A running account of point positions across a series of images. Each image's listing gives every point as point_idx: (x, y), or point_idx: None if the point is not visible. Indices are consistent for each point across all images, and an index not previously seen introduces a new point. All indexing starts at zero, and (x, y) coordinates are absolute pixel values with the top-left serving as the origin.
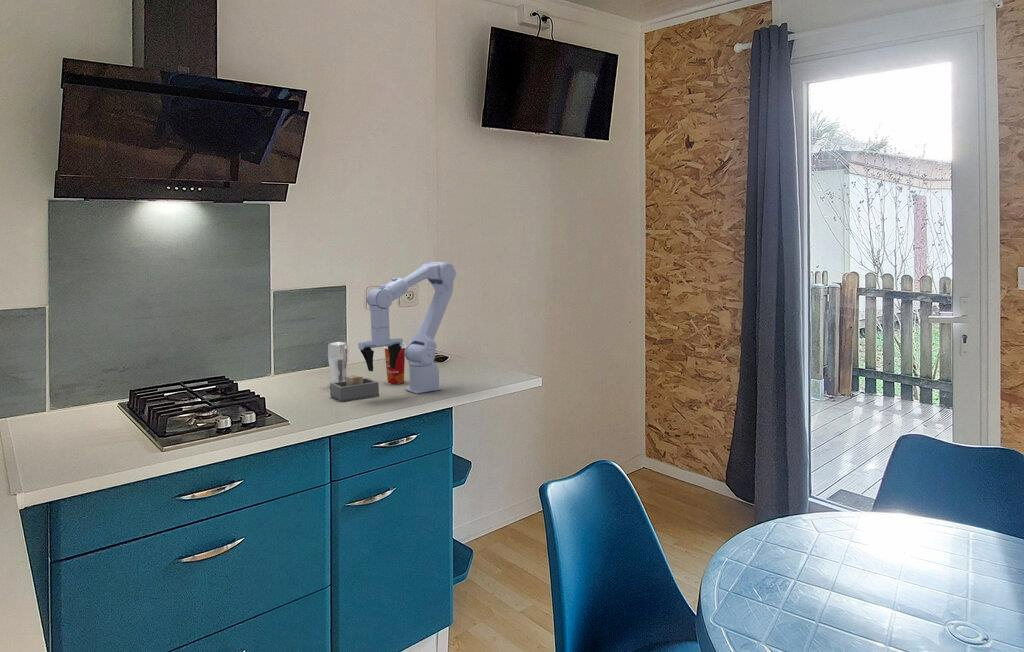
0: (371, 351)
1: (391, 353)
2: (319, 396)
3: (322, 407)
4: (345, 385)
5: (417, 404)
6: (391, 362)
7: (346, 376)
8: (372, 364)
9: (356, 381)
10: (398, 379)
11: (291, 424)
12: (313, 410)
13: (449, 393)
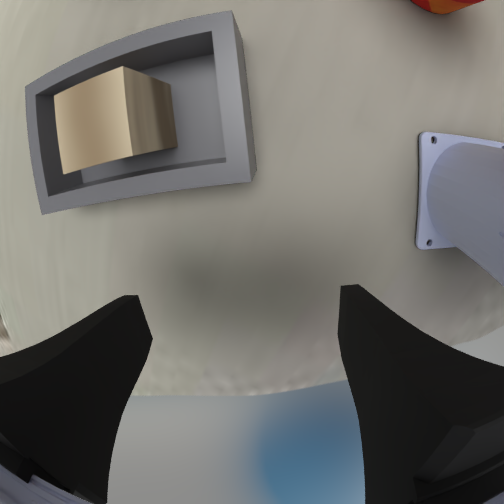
0: (85, 495)
1: (380, 419)
2: (43, 70)
3: (34, 241)
4: (94, 73)
5: (325, 376)
6: (352, 340)
7: (54, 103)
8: (129, 386)
9: (105, 162)
10: (439, 6)
11: (11, 339)
12: (19, 261)
13: (485, 299)
